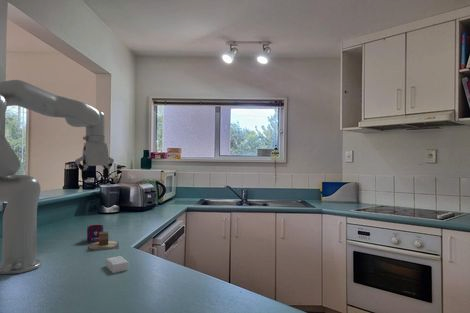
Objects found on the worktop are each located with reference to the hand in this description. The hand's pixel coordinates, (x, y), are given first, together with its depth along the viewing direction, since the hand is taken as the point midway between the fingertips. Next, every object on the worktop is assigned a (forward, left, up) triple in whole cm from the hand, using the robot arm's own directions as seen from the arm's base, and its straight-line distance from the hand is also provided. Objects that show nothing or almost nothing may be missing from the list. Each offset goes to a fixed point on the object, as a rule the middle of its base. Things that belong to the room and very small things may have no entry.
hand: (95, 178), depth 137 cm
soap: (-35, -9, -29) cm, 46 cm away
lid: (-6, -4, -28) cm, 29 cm away
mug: (+8, 0, -29) cm, 30 cm away
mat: (-6, -4, -29) cm, 29 cm away
